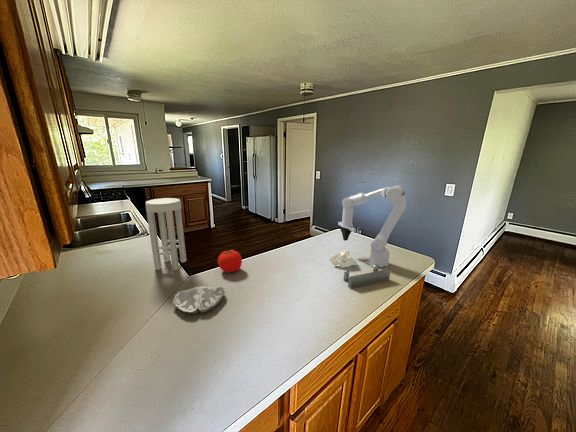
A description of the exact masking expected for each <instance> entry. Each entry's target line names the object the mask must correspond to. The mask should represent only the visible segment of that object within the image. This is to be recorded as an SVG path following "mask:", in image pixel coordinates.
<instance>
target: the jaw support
mask: <svg viewBox="0 0 576 432" xmlns="http://www.w3.org/2000/svg"><path fill="white" fill-rule="evenodd" d="M328 260H329V261H330V263H331V264H332V265H333V266H334V267H335V268H336V267H337V265H339V266H340V267H341V268H342V269H344V268H347V267H350V266H351V267H352V266H353V265H356V264H357V261H356V260H355V259H354V258H353V256H352V255H351V254H350V250H349V249H347V248H346V247H345V248H344V249H343V250H340V252H338V253H336V254H335V255H334V256H331V258H330V259H328Z"/></svg>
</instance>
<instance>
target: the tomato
mask: <svg viewBox="0 0 576 432" xmlns="http://www.w3.org/2000/svg"><path fill="white" fill-rule="evenodd" d="M242 263H243V258H242V256H241V254H240V253H239V252H238V251H237V250H235V249H234V248H233V249H230V250H224V251H222V252H221V253H220V254H219V256H218V257H217V264H218V267H219V269H220V270H221V271H223V272H225V273H233V272H234V273H235V272H237V271H239V270H240V269H241V268H242Z"/></svg>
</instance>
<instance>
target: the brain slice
mask: <svg viewBox="0 0 576 432" xmlns="http://www.w3.org/2000/svg"><path fill="white" fill-rule="evenodd" d="M225 293H226V292H225V289H224V287H222V286H215V287H210V286H204V285H202V286H195V287H191V288H189V289H187V290H186V289H184V290H180V291H178V292H177V293H176V294H175V295H174V298H173V299H172V304H173V305H174V306H175V308H178V310H180V311H181V312H183V313H188V314H198V313H201V314H203V313H206V312H208V311H210V310H212V309H213V308H214V307H216V306H217V305H218V304H219V303H220V302H221V300H222V299H223V298H224V294H225Z"/></svg>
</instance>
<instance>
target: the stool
mask: <svg viewBox="0 0 576 432" xmlns="http://www.w3.org/2000/svg"><path fill="white" fill-rule="evenodd" d="M145 211H146V218H147V224H148V232H149V238H150V239H149V240H150V244H151V245H150V246H151V250H152V252H151V253H152V259H153V265H154V270H156V271H158V270H161V269H162V260H161V256H163V262H164V263H165V262H166V263H168V262H170V261H171V266H172V271H178V270H179V268H180V267H179V266H180V265H179V264H180V263H179V259H180V262H181V263H185V262H187V253H186V252H187V251H186V244H185V235H184V226H183V215H182V201H181V199H180V198H176V197H175V198H174V197H162V198H154V199H150V200H146V201H145ZM173 211H174V213H175V214H173ZM155 213H157V218H158V226H159V234H160V242H161V245H159V241H158V234H157V233H158V232H157V223H156V218H155ZM174 216H175V221H174ZM175 223H176V225H175ZM175 226H176V231H175ZM176 232H177V238H176ZM177 243H178V245H177ZM160 250H162V251H160ZM178 251H179V257H178Z"/></svg>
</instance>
